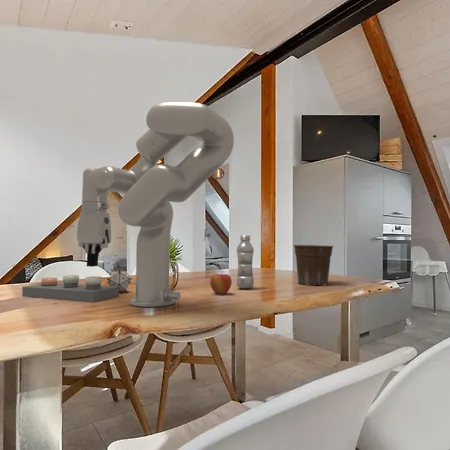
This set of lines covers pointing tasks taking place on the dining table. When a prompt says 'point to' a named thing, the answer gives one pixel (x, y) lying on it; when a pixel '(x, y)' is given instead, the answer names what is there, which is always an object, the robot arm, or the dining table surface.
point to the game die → (119, 279)
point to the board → (70, 292)
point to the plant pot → (313, 263)
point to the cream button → (93, 282)
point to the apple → (220, 283)
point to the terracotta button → (49, 281)
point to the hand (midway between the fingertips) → (92, 266)
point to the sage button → (70, 281)
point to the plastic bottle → (245, 263)
